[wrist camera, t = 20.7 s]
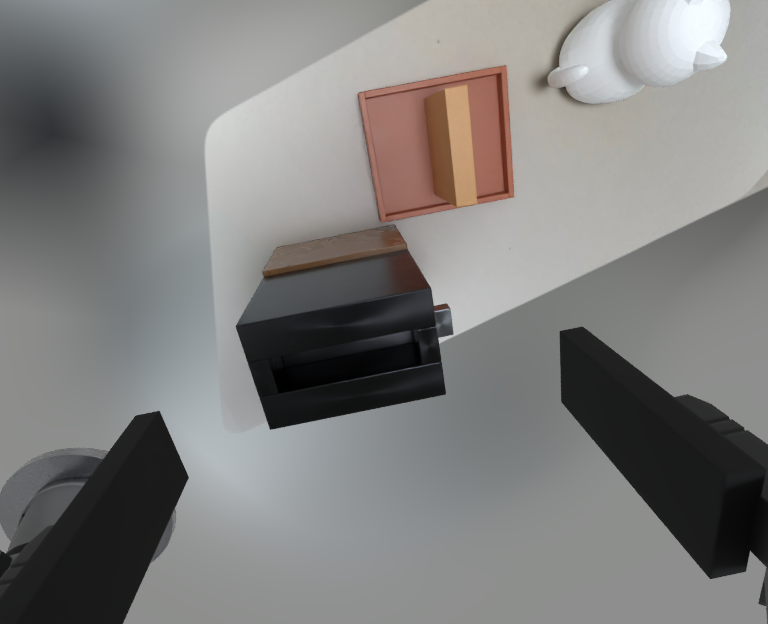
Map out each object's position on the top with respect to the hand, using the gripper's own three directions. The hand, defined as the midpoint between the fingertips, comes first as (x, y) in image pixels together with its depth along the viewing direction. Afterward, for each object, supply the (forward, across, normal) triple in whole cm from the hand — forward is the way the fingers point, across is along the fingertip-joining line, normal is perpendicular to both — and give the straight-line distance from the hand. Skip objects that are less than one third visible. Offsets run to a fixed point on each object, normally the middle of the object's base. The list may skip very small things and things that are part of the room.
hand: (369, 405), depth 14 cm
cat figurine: (+39, +28, +11) cm, 49 cm away
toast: (+38, +11, +6) cm, 40 cm away
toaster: (+39, -2, -7) cm, 39 cm away
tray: (+39, +11, +6) cm, 41 cm away
